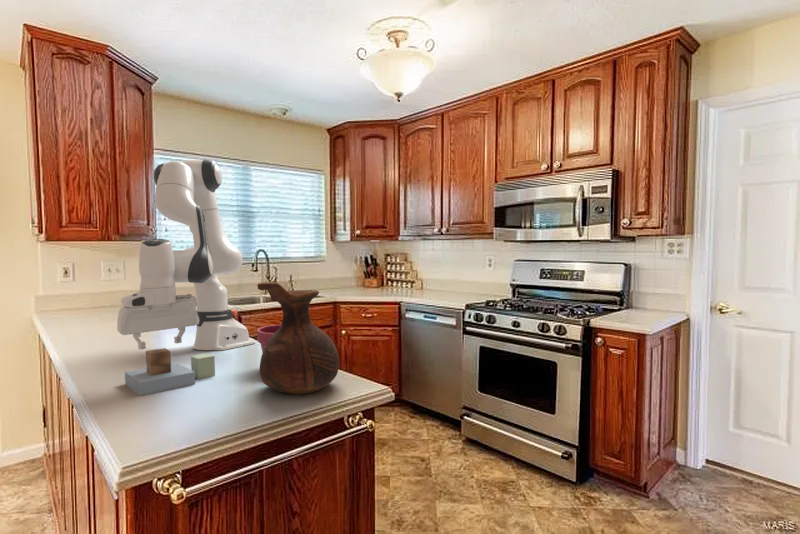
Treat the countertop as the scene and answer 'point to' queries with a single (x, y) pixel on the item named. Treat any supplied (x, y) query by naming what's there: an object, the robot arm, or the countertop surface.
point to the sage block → (203, 365)
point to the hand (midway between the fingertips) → (160, 345)
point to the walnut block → (158, 361)
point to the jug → (297, 346)
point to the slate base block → (159, 380)
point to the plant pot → (266, 334)
